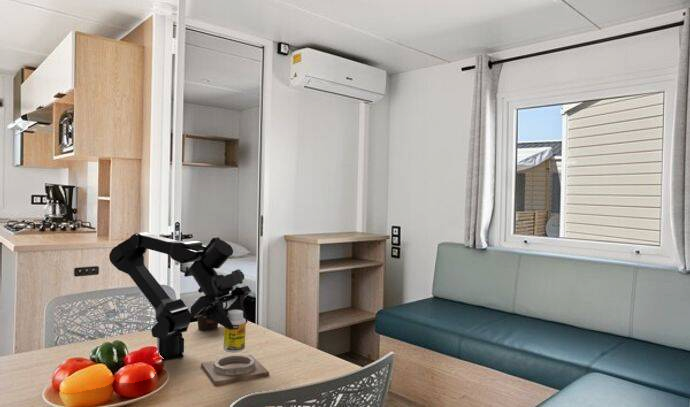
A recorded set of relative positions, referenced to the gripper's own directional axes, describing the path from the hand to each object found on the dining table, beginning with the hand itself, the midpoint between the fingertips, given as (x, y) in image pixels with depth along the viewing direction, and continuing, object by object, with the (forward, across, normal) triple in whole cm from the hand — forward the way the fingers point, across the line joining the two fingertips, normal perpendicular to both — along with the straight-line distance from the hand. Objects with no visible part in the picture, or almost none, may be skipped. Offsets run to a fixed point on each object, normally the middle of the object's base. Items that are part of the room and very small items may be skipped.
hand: (239, 326), depth 123 cm
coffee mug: (-14, +27, +32) cm, 44 cm away
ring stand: (+8, 0, +9) cm, 12 cm away
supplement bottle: (+4, 0, +6) cm, 7 cm away
